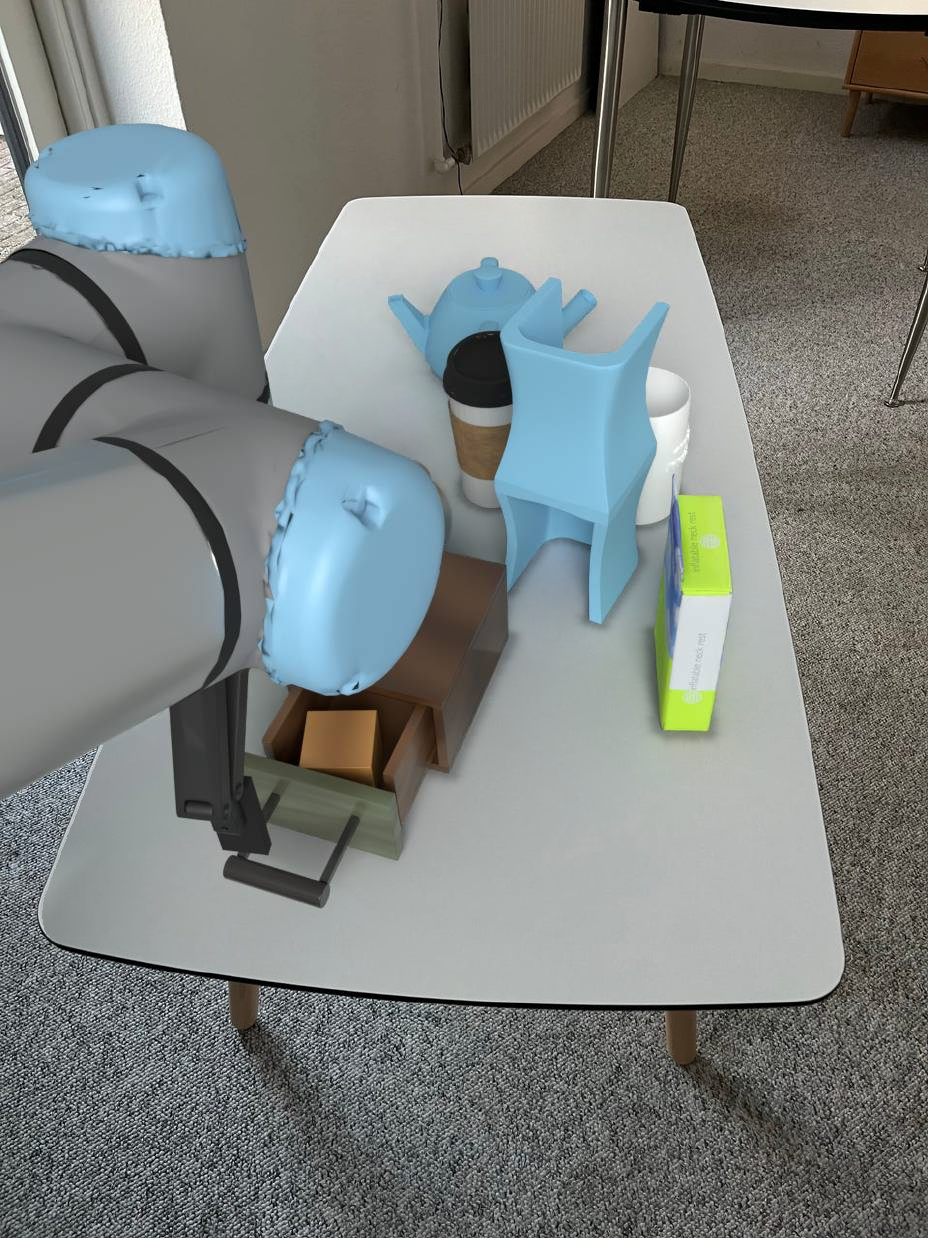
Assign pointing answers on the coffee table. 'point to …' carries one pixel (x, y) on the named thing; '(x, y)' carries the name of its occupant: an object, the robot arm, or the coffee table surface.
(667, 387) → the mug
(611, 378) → the blue doll chair
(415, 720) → the drawer
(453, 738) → the cabinet
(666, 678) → the box
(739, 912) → the coffee table surface
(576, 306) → the teapot
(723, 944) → the coffee table surface
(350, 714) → the block
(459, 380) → the coffee cup
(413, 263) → the coffee table surface
